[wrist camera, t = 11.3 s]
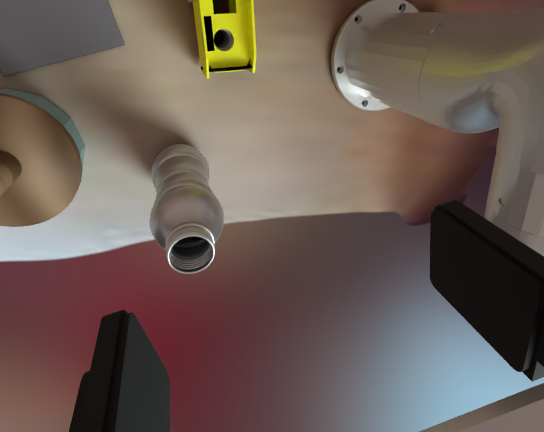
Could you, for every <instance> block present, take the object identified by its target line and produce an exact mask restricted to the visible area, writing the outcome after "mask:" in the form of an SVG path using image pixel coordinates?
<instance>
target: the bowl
mask: <svg viewBox="0 0 544 432" xmlns="http://www.w3.org/2000/svg"><path fill="white" fill-rule="evenodd" d="M0 93H3V94H8V95H12V96H16V97H19V98H22V99H24V100H27V101H29V102H31V103H33V104H35V105H37V106H39V107H41V108H42V109H44V110H45V111H47V112H48V113H50V114H51V115H52V116H53V117H55V118H56V119H57V120H58V121H59V122H60V123H61V124H62V125H63V126H64V127H65V128H66V130H67V131H68V132H69V134H70V135H71V136H72V138H73V140H74V141H75V143H76V146H77V148H78V150H79V153H80V157H81V162H82V169H83V159H84V149H85V144H84V142H83V140H82V138H81V136H80V134H79V132H78V130H77V128H76V126H75V124H74V122H73V120H72V118H71V117H69V116H68V115H67V114H66V113H64V112H63V111H62V110H60V109H59V108H58V107H56V106H55V105H54V104H52V103H51V102H50V101H48V100H47V99H46V98H44V97H43V96H39V95H35V94H31V93H26V92H22V91H18V90H13V89H9V88H5V89H1V90H0Z"/></svg>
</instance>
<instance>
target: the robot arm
mask: <svg viewBox="0 0 544 432" xmlns="http://www.w3.org/2000/svg"><path fill="white" fill-rule="evenodd" d="M399 6H400V9H399ZM355 17H356V21H355ZM338 67H339V70H338V71H337V68H338ZM331 73H332V77H333V81H334V84H335V86H336V88H337V90H338V92H339V93H340V94H341V96H342V97H343V98H344V99H345V100H346V101H347V102H348V103H350V104H351V105H353V106H355V107H357V108H360V109H362V110H368V111H377V110H383V109H386V108H389V107H392V108H395V109H397V110H400V111H402V112H405V113H407V114H410V115H412V116H415V117H417V118H420V119H422V120H425V121H427V122H430V123H432V124H435V125H438V126H440V127H443V128H445V129H448V130H451V131H454V132H459V133H478V132H484V131H487V130H491V129H494V128H497V127H499V126H500V128H499V135H498V141H497V146H496V149H497V152H496V157H495V162H494V167H493V173H492V177H491V183H490V188H489V193H488V199H487V205H486V211H485V218H483V217H482V216H480V215H479V214H477V213H476V212H474V211H473V210H471V209H470V208H468V207H466V206H465V205H463V204H462V203H460V202H459V201H456V200H453V201H450V202H447V203H444V204H441V205H438V206H436V207H435V210H434V212H432V214H431V233H430V280H431V282H432V284H433V286H434V287H435V289H436V290H437V291H438V292H439V293H440V294H441V295H442V296H443V297H444V298H445V299H446V300H447V301H448V302H449V303H450V304H451V305H452V306H453V307H454V308H455V309H456V310H457V311H458V312H459V313H460V314H461V315H462V316H463V317H464V318H465V319H466V320H467V321H468V323H469V324H470V325H472V327H473V328H474V329H476V331H477V332H478V333H479V334H480V335H481V336H482V337H483V338H484V339H485V340H486V341H487V342H488V343H489V344H490V345H491V346H492V347H493V348H494V349H495V350H496V351H497V352H498V353H499V354H500V355H501V356H502V357H503V359H504V360H506V361H507V363H508V364H509V365H510V366H511V367H513V369H515V370H516V371H518V372H523V373H524V374H525V375H526V376H527V377H528V378H529V379H530V380H531V381H534V380H537V379H540V378H542V377H544V8H540V9H531V10H518V11H488V12H419V11H418V10H417V9H416V7H415V6H413V5H412V4H411V3H409V2H408V1H406V0H370V1H368V2H366V3H364V4H362V5H361V6H359V7H358V8H357V9H356V10H354V11H353V12H352V13H351V14H350V15H349V16H348V18H347V19H346V20H345V21H344V23H343V24H342V26H341V28H340V29H339V31H338V34H337V36H336V38H335V41H334V45H333V48H332V54H331ZM362 101H363V103H362ZM69 432H170V381H169V375H168V372H167V370H166V368H165V366H164V364H163V363H162V361H161V359H160V358H159V356H158V354H157V352H156V351H155V349H154V347H153V345H152V344H151V342H150V340H149V339H148V337H147V335H146V333H145V332H144V330H143V328H142V326H141V325H140V323H139V322H138V320H137V318H136V316H135V315H134V313H132V312H131V313H127V312H126V311H125V310H121V311H118V312H115V313H112V314H109V315H106V316H104V317H102V319H101V323H100V328H99V332H98V337H97V341H96V346H95V351H94V355H93V360H92V364H91V369H90V371H88V372H86V373H85V374H84V375H83V377H82V380H81V383H80V387H79V391H78V396H77V400H76V404H75V409H74V412H73V417H72V421H71V425H70V429H69ZM420 432H544V383H543V384H540V385H537V386H535V387H532V388H529V389H527V390H524V391H522V392H519V393H517V394H514V395H512V396H509V397H506V398H504V399H501V400H499V401H496V402H493V403H491V404H488V405H486V406H483V407H481V408H478V409H476V410H473V411H471V412H468V413H465V414H463V415H460V416H458V417H455V418H453V419H450V420H447V421H445V422H442V423H440V424H437V425H435V426H432V427H430V428H427V429H425V430H422V431H420Z"/></svg>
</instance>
